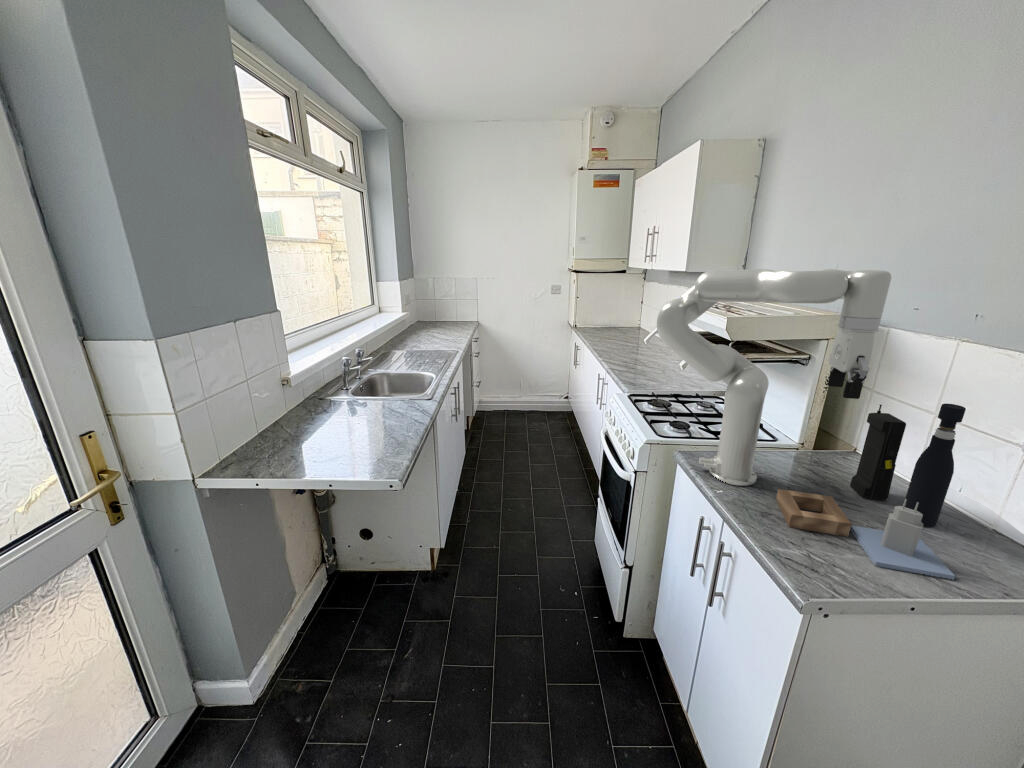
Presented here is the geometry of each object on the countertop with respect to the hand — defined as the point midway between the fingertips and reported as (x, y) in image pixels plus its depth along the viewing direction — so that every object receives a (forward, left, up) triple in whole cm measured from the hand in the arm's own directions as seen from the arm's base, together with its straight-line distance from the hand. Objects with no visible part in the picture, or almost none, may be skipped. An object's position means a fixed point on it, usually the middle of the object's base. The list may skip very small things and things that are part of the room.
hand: (842, 391), depth 103 cm
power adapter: (+9, -20, -30) cm, 37 cm away
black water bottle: (+20, -4, -31) cm, 37 cm away
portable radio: (+14, +6, -31) cm, 34 cm away
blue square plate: (+9, -20, -30) cm, 37 cm away
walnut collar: (-5, -11, -30) cm, 33 cm away
